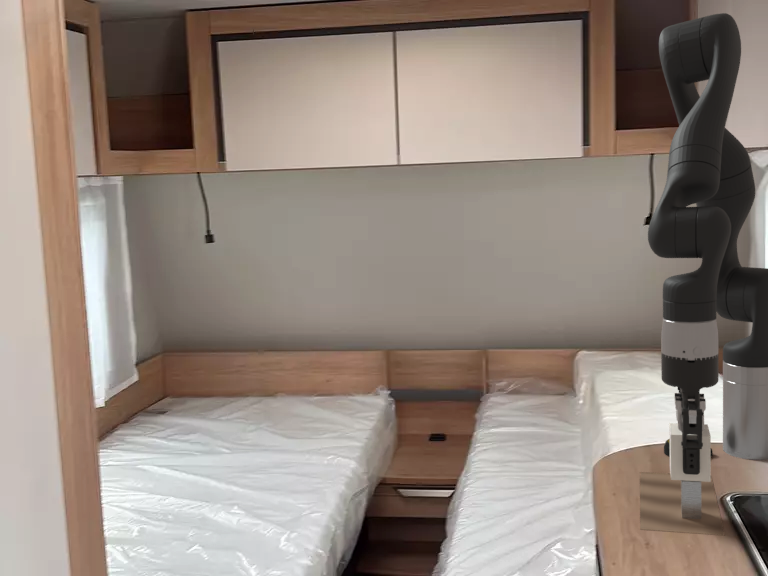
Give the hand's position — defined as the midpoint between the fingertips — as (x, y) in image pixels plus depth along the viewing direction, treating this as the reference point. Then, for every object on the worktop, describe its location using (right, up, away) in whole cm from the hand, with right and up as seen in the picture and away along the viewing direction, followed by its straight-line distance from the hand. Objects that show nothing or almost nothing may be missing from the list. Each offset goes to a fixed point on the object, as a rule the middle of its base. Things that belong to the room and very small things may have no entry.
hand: (690, 465), depth 118 cm
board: (+1, -8, +6) cm, 10 cm away
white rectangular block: (0, -1, 0) cm, 1 cm away
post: (+1, -7, +1) cm, 7 cm away
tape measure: (+9, -5, +26) cm, 28 cm away
